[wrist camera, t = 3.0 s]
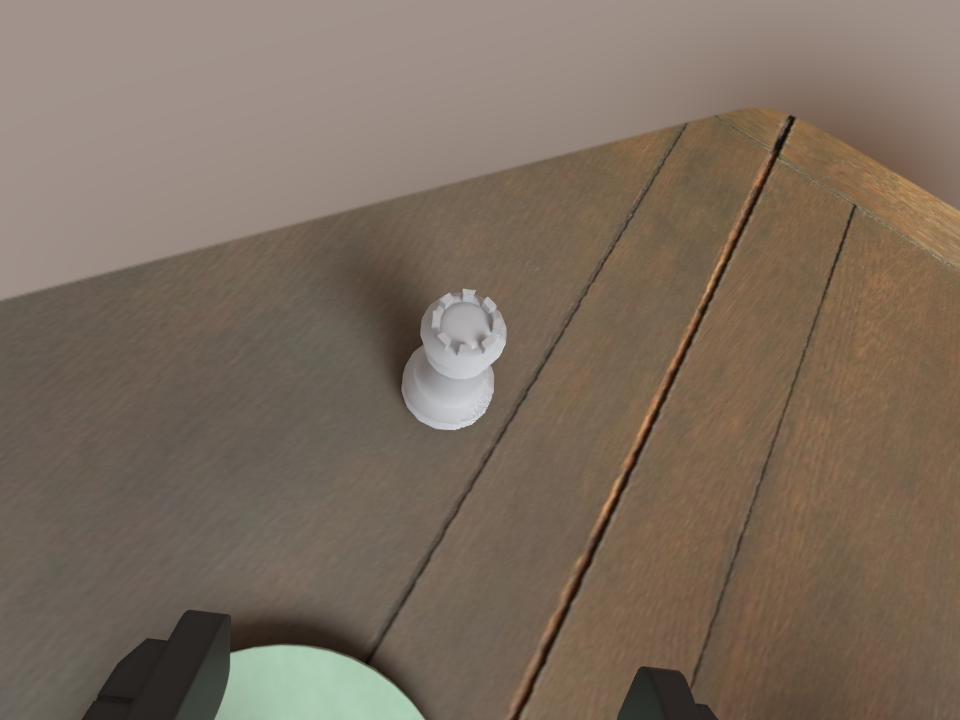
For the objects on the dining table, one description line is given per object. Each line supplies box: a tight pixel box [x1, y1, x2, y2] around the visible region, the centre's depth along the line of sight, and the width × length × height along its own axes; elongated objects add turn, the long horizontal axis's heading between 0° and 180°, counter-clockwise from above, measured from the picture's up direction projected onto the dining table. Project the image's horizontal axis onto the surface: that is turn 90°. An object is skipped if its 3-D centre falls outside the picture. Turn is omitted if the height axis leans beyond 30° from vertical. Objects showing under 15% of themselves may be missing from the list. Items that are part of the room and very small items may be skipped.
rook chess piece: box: [401, 289, 506, 430], centre depth 23 cm, size 4×4×8 cm
